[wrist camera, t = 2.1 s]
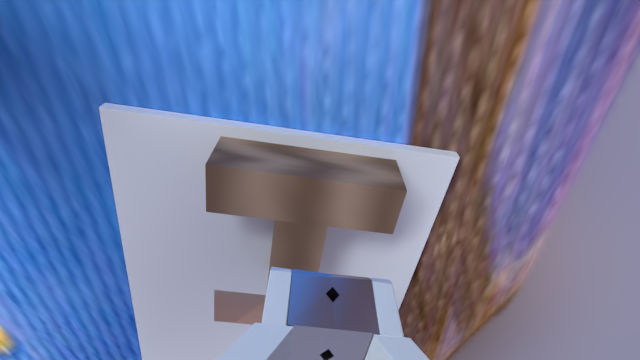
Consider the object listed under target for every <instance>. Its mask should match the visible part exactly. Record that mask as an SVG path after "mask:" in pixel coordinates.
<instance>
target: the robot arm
mask: <svg viewBox="0 0 640 360" xmlns="http://www.w3.org/2000/svg"><path fill="white" fill-rule="evenodd" d="M219 360H429V359H428V358H427V356H426V355H425V354H424V353H423V352H422V351H421V350H420V348H419V347H418V346H417V345H416V344H415V343H414V342H413V341H412V339H411V338H406V337H404V334H403V330H402V325H401V321H400V316H399V312H398V307H397V303H396V298H395V294H394V289H393V285H392V282H391V281H390V280H387V279H377V278H367V277H357V276H348V275H338V274H326V273H319V272H311V271H304V270H297V269H292V270H291V269H286V268H279V267H271V270H270V274H269V280H268V286H267V292H266V298H265V304H264V310H263V316H262V323H254V324H253V325H252V326H251V327H250V328H249V329H248V330H247V331H246V332H245V333H244V334H243V335H242V336H241V337H240V338H239V339H238V340H237V341H236V342H235V343H234V344H233V345H232V346H231V348H230V349H229V350H228V351H227V352H226V353H225V354H224V355H223V356H222V357H221V358H220V359H219Z"/></svg>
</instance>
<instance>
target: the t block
mask: <svg viewBox="0 0 640 360" xmlns="http://www.w3.org/2000/svg"><path fill="white" fill-rule="evenodd" d="M205 177H206V212H211V213H220V214H228V215H236V216H245V217H253V218H261V219H269V220H274V229H273V238H272V247H271V256H270V265H269V274H270V270H271V267H279V268H286V269H291V270H292V269H297V270H304V271H311V272H318V271H319V266H320V261H321V257H322V252H323V247H324V242H325V238H326V233H327V228H328V227H336V228H344V229H353V230H361V231H369V232H377V233H386V234H393V232H394V229H395V226H396V223H397V220H398V217H399V214H400V211H401V208H402V205H403V202H404V199H405V196H406V193H407V189H406V186H405V183H404V181H403V178H402V175H401V172H400V170H399V167H398V164H397V161H396V160H392V159H384V158H377V157H370V156H362V155H355V154H348V153H340V152H333V151H326V150H319V149H311V148H304V147H297V146H289V145H282V144H275V143H267V142H260V141H253V140H245V139H238V138H231V137H224V136H221V137H220V138H219V140H218V142H217V144H216V146H215V148H214V150H213V151H212V153H211V155H210V157H209V159H208V161H207V162H206V164H205ZM269 274H268V280H269ZM267 286H268V283H267Z"/></svg>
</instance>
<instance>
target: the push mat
mask: <svg viewBox="0 0 640 360" xmlns="http://www.w3.org/2000/svg"><path fill="white" fill-rule="evenodd" d="M99 112H100V118H101V124H102V130H103V135H104V141H105V147H106V153H107V158H108V164H109V170H110V176H111V182H112V187H113V193H114V199H115V205H116V211H117V216H118V222H119V228H120V234H121V239H122V245H123V251H124V257H125V263H126V268H127V274H128V280H129V286H130V292H131V297H132V303H133V309H134V315H135V320H136V326H137V332H138V338H139V344H140V349H141V355H142V360H219V359H220V358H221V357H222V356H223V355H224V354H225V353H226V352H227V351H228V350H229V349H230V348H231V346H232V345H233V344H234V343H235V342H236V341H237V340H238V339H239V338H240V337H241V336H242V335H243V334H244V333H245V332H246V331H247V330H248V329H249V328H250V327H251V326H252V325H253V324H254V323H262V316H263V310H264V304H265V298H266V292H267V283H268V274H269V265H270V256H271V247H272V238H273V229H274V220H269V219H261V218H253V217H245V216H236V215H228V214H220V213H211V212H206V177H205V164H206V162H207V161H208V159H209V157H210V155H211V153H212V151H213V150H214V148H215V146H216V144H217V142H218V140H219V138H220V137H221V136H224V137H231V138H238V139H245V140H253V141H260V142H267V143H275V144H282V145H289V146H297V147H304V148H311V149H319V150H326V151H333V152H340V153H348V154H355V155H362V156H370V157H377V158H384V159H392V160H396V161H397V164H398V167H399V170H400V172H401V175H402V178H403V181H404V183H405V186H406V189H407V193H406V196H405V199H404V202H403V205H402V208H401V211H400V214H399V217H398V220H397V223H396V226H395V229H394V232H393V234H386V233H377V232H369V231H361V230H353V229H344V228H336V227H328V228H327V233H326V238H325V242H324V247H323V252H322V257H321V261H320V266H319V271H318V272H319V273H326V274H338V275H348V276H357V277H367V278H377V279H387V280H390V281H391V282H392V285H393V289H394V294H395V298H396V303H397V307H398V311H399V308H400V306H401V303H402V301H403V298H404V296H405V293H406V291H407V288H408V286H409V283H410V281H411V278H412V276H413V273H414V271H415V268H416V266H417V263H418V261H419V258H420V256H421V253H422V251H423V248H424V246H425V243H426V241H427V238H428V236H429V233H430V231H431V228H432V226H433V223H434V221H435V218H436V216H437V213H438V211H439V208H440V206H441V203H442V201H443V198H444V196H445V193H446V191H447V188H448V186H449V183H450V181H451V178H452V176H453V173H454V171H455V168H456V166H457V163H458V161H459V158H460V157H459V156H458V154H457V153H456V152H454V151H446V150H439V149H432V148H425V147H418V146H411V145H404V144H397V143H389V142H382V141H375V140H368V139H361V138H354V137H347V136H340V135H333V134H325V133H318V132H311V131H304V130H297V129H290V128H283V127H276V126H268V125H261V124H254V123H247V122H240V121H233V120H226V119H219V118H212V117H204V116H197V115H190V114H183V113H176V112H169V111H162V110H155V109H147V108H140V107H133V106H126V105H119V104H112V103H104V104H103V105H101V106H100V107H99Z"/></svg>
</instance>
